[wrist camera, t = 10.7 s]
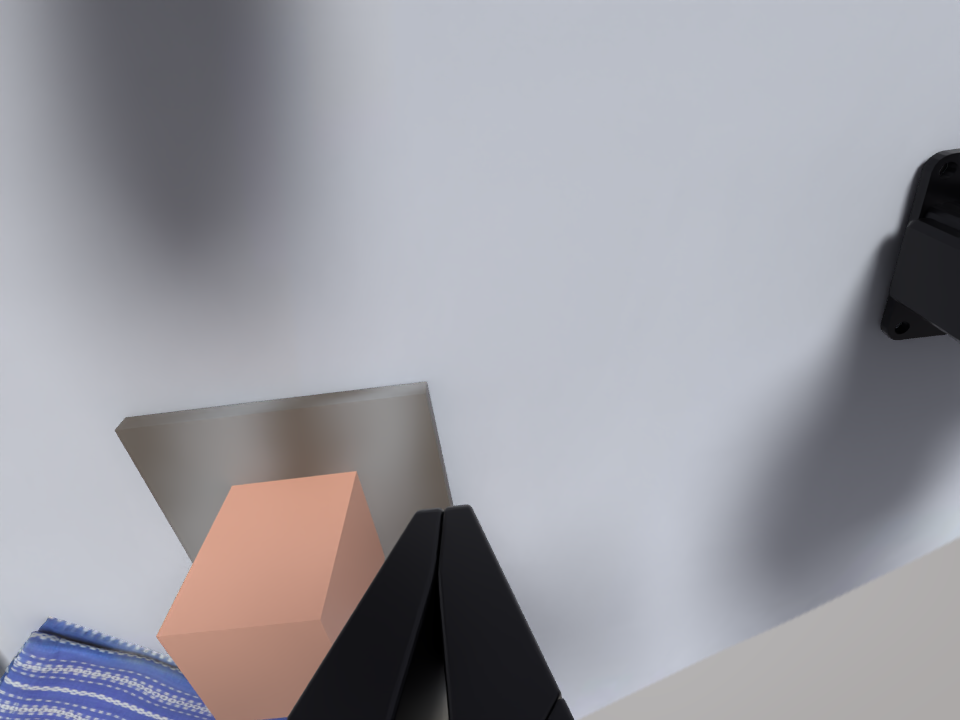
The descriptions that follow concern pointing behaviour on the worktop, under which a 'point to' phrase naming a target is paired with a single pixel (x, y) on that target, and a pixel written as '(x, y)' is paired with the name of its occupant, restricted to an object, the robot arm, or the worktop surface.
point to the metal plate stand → (293, 454)
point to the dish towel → (94, 680)
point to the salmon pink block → (272, 592)
